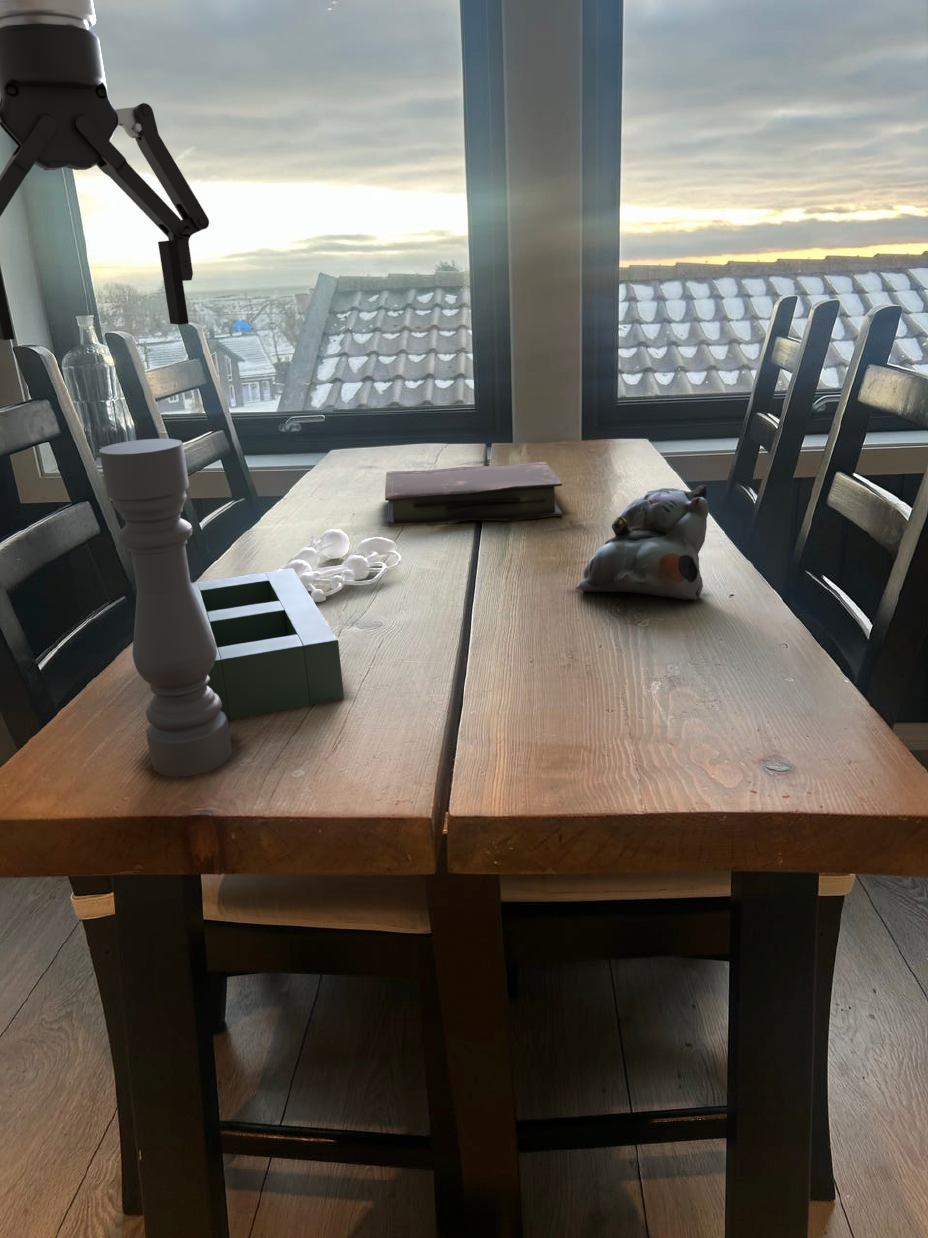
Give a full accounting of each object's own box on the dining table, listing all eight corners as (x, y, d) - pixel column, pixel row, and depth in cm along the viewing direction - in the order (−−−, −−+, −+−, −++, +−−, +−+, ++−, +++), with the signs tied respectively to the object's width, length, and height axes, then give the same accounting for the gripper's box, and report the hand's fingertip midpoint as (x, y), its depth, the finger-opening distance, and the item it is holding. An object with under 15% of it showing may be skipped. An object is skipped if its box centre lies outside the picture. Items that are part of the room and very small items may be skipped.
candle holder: (245, 764, 78) (199, 445, 69) (167, 790, 75) (109, 459, 66) (216, 736, 83) (169, 434, 74) (141, 759, 80) (84, 446, 71)
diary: (388, 500, 158) (386, 468, 156) (545, 489, 159) (544, 458, 157) (387, 530, 141) (384, 495, 139) (563, 519, 142) (563, 484, 140)
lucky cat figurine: (557, 589, 113) (586, 470, 114) (648, 615, 117) (674, 500, 118) (622, 588, 99) (654, 453, 100) (723, 618, 103) (752, 488, 104)
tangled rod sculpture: (332, 627, 109) (330, 592, 107) (228, 602, 115) (224, 568, 113) (421, 570, 124) (420, 538, 123) (325, 550, 131) (323, 520, 129)
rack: (194, 731, 84) (183, 665, 82) (176, 640, 104) (167, 586, 102) (344, 703, 88) (338, 639, 85) (299, 621, 108) (292, 568, 106)
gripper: (-149, 6, 64) (-70, 348, 71) (225, 29, 76) (259, 319, 83) (-154, 30, 70) (-80, 343, 77) (193, 47, 82) (228, 316, 89)
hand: (96, 331), depth 80 cm, fingers open, 13 cm apart
